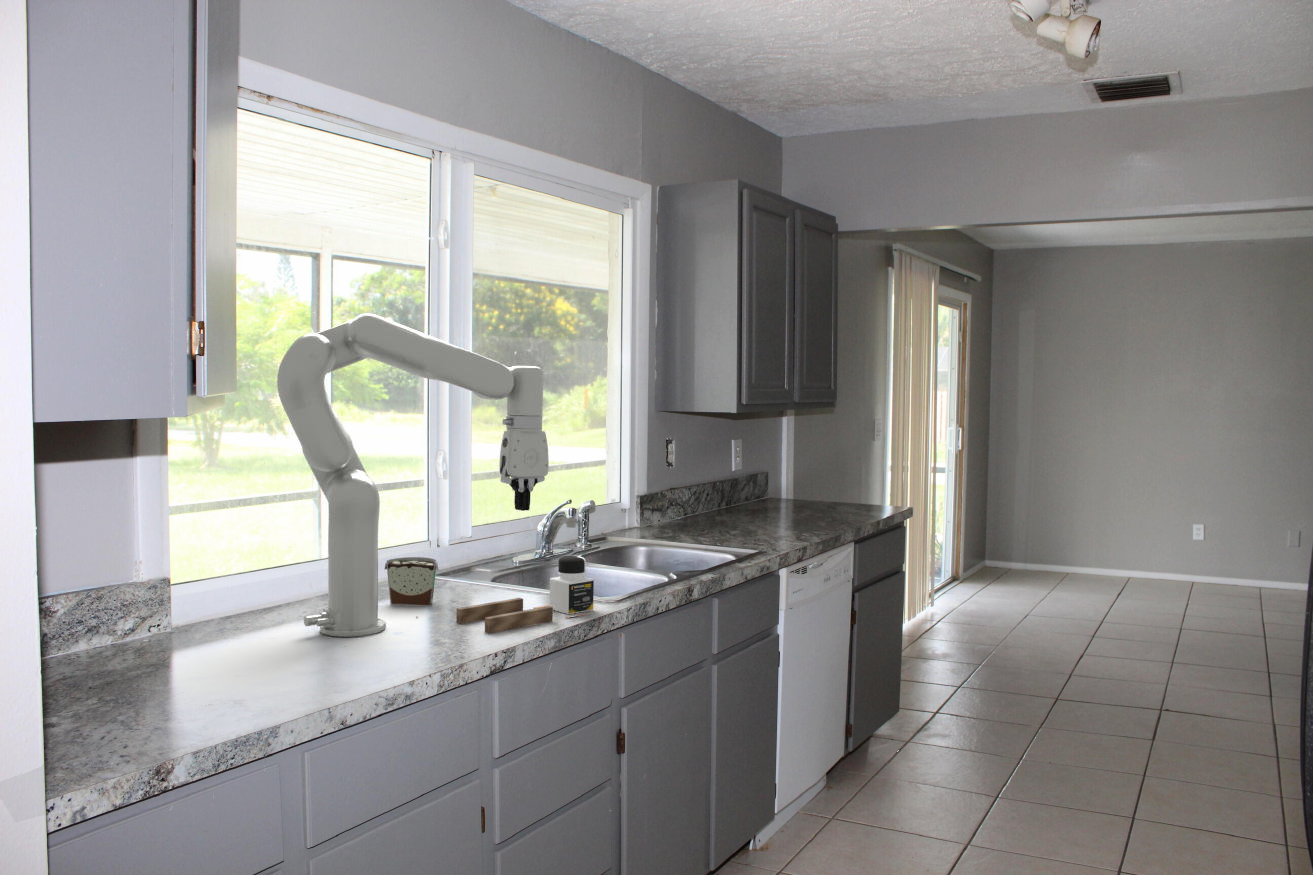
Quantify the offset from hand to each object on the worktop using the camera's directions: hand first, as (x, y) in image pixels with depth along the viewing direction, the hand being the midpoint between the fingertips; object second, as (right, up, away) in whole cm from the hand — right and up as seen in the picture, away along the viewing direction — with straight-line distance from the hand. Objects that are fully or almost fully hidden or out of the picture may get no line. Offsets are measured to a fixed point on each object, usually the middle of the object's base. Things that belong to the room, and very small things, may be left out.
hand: (522, 509), depth 203 cm
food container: (-26, -22, +14) cm, 37 cm away
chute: (-3, -23, -3) cm, 24 cm away
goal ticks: (+8, -23, +7) cm, 25 cm away
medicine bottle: (+10, -23, +9) cm, 27 cm away
